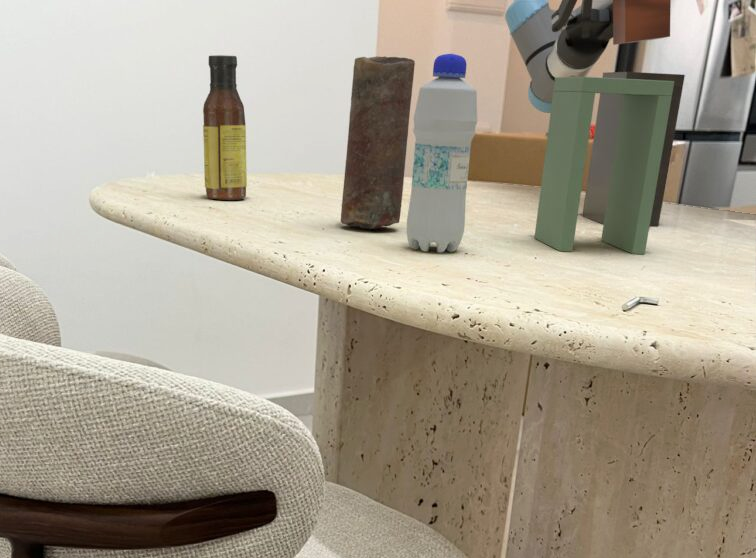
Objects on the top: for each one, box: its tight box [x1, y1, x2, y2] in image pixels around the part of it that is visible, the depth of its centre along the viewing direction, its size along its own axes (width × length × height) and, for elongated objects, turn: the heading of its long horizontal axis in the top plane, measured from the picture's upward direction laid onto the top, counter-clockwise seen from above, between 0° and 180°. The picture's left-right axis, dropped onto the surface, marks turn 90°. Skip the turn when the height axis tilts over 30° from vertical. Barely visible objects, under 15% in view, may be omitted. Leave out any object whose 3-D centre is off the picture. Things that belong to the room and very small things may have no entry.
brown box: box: [612, 0, 672, 46], centre depth 136 cm, size 6×18×11 cm, turn 174°
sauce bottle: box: [202, 54, 248, 201], centre depth 138 cm, size 7×6×20 cm
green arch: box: [534, 76, 674, 255], centre depth 109 cm, size 10×10×18 cm
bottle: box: [406, 53, 478, 254], centre depth 101 cm, size 7×7×20 cm
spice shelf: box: [581, 71, 686, 227], centre depth 134 cm, size 8×9×20 cm
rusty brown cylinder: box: [340, 56, 416, 230], centre depth 114 cm, size 8×7×20 cm
